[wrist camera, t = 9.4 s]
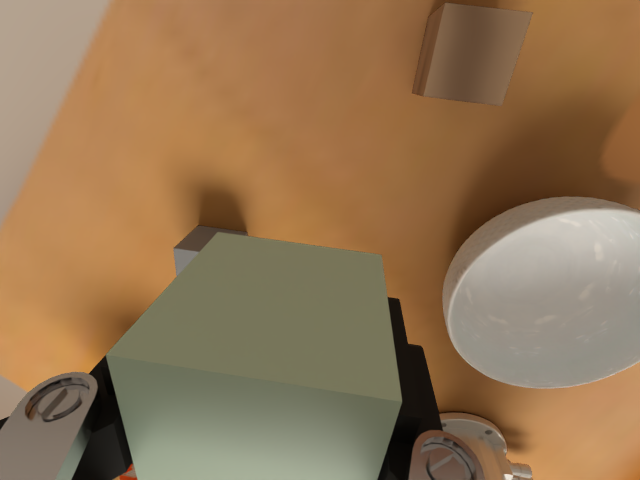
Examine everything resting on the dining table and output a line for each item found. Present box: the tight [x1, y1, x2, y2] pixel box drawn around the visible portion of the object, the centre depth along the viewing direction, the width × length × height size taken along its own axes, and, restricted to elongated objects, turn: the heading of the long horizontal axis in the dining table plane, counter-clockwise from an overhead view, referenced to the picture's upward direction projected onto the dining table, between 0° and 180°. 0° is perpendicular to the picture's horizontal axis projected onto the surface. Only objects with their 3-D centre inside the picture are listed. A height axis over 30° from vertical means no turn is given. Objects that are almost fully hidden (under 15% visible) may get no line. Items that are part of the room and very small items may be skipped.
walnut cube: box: [412, 3, 533, 106], centre depth 22 cm, size 5×5×5 cm
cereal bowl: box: [442, 196, 640, 388], centre depth 28 cm, size 17×17×7 cm
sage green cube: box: [106, 232, 402, 480], centre depth 9 cm, size 5×5×5 cm
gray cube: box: [174, 225, 247, 276], centre depth 31 cm, size 5×5×5 cm
